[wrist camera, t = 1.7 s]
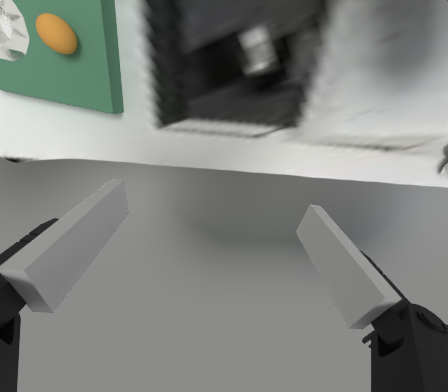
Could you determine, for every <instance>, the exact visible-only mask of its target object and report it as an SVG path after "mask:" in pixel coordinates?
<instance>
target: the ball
mask: <svg viewBox="0 0 448 392" xmlns="http://www.w3.org/2000/svg"><path fill="white" fill-rule="evenodd" d="M36 29H37V32H38V34H39V36H40V38H41V39H42V40H43V42H44V43H45V44H46V45H47V46H49V47H50V48H51V49H53V50H54V51H56V52H58V53H61V54H71V53H73V52H74V51H75V50H76V48H77V38H76V35H75V33H74V31H73V30H72V28H71V27H70V26H69V25H68V24H67V23H66V22H65V21H64V20H63V19H61V18H60V17H58V16H56V15H53V14H50V13H43V14H41V15H39V16H38V17H37V19H36Z"/></svg>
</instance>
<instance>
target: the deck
mask: <svg viewBox="0 0 448 392" xmlns="http://www.w3.org/2000/svg"><path fill="white" fill-rule="evenodd" d="M0 7H1V8H2V9H3V11H4V12H5V13H6V15H7V16H8V18H9V21H10V24H11V28H12V35H11V40H10V39H9V38H8V37H7V35H6V34H5V33H4V31H3V30H2V28H1V25H0V90H3V91H8V92H13V93H17V94H22V95H27V96H31V97H36V98H41V99H45V100H50V101H55V102H59V103H64V104H69V105H73V106H78V107H83V108H87V109H92V110H97V111H102V112H106V113H111V114H116V113H121V112H124V108H123V96H122V84H121V73H120V61H119V49H118V37H117V25H116V13H115V1H114V0H0ZM43 13H50V14H53V15H56V16H58V17H60V18H61V19H63V20H64V21H65V22H66V23H67V24H68V25H69V26H70V27H71V28H72V30H73V31H74V33H75V35H76V38H77V48H76V50H75V51H74V52H73V53H71V54H61V53H58V52H56V51H54V50H53V49H51V48H50V47H49V46H47V45H46V44H45V43H44V42H43V40H42V39H41V38H40V36H39V34H38V32H37V29H36V19H37V17H38V16H39V15H41V14H43Z"/></svg>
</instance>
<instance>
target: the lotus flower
mask: <svg viewBox="0 0 448 392" xmlns="http://www.w3.org/2000/svg"><path fill="white" fill-rule="evenodd" d="M447 172H448V163H447V164H446V165H445V166H444V167H443V169H442V171H441V174H442V173H447Z"/></svg>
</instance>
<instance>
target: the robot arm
mask: <svg viewBox="0 0 448 392" xmlns="http://www.w3.org/2000/svg"><path fill="white" fill-rule="evenodd" d="M127 215H128V208H127V200H126V195H125V188H124V182H123V180H118V179H110V180H109V181H107V182H106V183H105V184H103V185H102V186H101V187H100V188H99V189H97V190H96V191H95V192H93V193H92V194H91V195H89V196H88V197H87V198H86V199H84V200H83V201H82V202H81V203H79V204H78V205H77V206H76V207H74V208H73V209H72V210H70V211H69V212H68V213H67V214H65V215H64V216H63V217H62V218H60V219H56V218H54V219H52V220H50V221H48V222H45V223H43V224H41V225H40V226H38V227H37V228H35V229H34V230H33V231H31V232H30V233H29V235H26V236H25V237H23V238H22V239H20V241H19V242H16V243H15V244H14V245H12V246H11V247H10V248H8V249H7V250H6V251H4V252H3V253H1V254H0V392H17V379H18V378H17V377H18V360H19V342H20V322H21V318H20V314H19V313H18V312H19V311H20V310H21V309H22V308H23V307H24V306H25V305H26V304H27V306H28V307H29V308H30V309H31V310H32V312H48V313H53V312H54V311H55V310H56V308H57V307H58V306H59V305H60V303H61V302H62V301H63V299H64V298H65V297H66V295H67V294H68V293H69V291H70V290H71V289H72V287H73V286H74V285H75V283H76V282H77V281H78V279H79V278H80V277H81V276H82V274H83V273H84V272H85V270H86V269H87V267H88V266H89V265H90V264H91V262H92V261H93V260H94V258H95V257H96V256H97V254H98V253H99V252H100V250H101V249H102V248H103V247H104V245H105V244H106V242H107V241H108V240H109V239H110V237H111V236H112V235H113V233H114V232H115V231H116V229H117V228H118V226H119V225H120V224H121V223H122V221H123V220H124V219H125V217H126V216H127ZM296 233H297V235H298V237H299V239H300V241H301V242H302V244H303V246H304V248H305V250H306V251H307V253H308V255H309V257H310V259H311V261H312V262H313V264H314V266H315V268H316V270H317V272H318V273H319V275H320V277H321V279H322V281H323V283H324V284H325V286H326V288H327V290H328V292H329V294H330V295H331V297H332V299H333V301H334V302H335V305H336V306H337V308H338V310H339V312H340V314H341V316H342V317H343V319H344V321H345V323H346V325H347V326H348V328H351V329H364V328H365V327H366V326H367V325H369V324H370V323H371V324H372V326H373V327H374V329H375V330H374V331H372V332H371V333H370V334H368V335H367V336H365V337H364V338H363V340H362V342H363V343H364V344H365V343H366V342H368V341H369V340H371V344H370V345H369V347H370V348H371V392H448V325H446V324H444V322H443V321H442V320H441V319H440V318H438V317H437V316H436V315H435V314H434V313H432V312H431V311H429V310H428V309H426V308H424V307H422V306H420V305H417V304H411V303H410V302H409V301H408V300H407V299H406V298H405V297H404V295H403V294H402V293H401V292H400V291H399V290H398V289H397V287H396V286H395V285H394V284H393V283H392V282H391V281H390V280H389V279H388V278H387V276H386V275H384V274H383V272H382V271H381V270H380V269H379V268H378V267H377V266H376V264H375V263H374V262H373V261H372V260H371V259H370V258H369V257H368V256H367V255H365V254H364V253H363V252H362V251H360V250H358V249H357V247H356V246H355V245H354V244H353V243H352V242H351V241H350V239H349V238H348V237H347V236H346V235H345V234H344V233H343V232H342V231H341V229H340V228H339V227H338V226H337V225H336V224H335V223H334V221H333V220H332V219H331V218H330V217H329V216H328V215H327V213H326V212H325V211H324V210H323V209H322V208H321V207H320V206H316V205H310V206H309V208H308V210H307V212H306V214H305V216H304V218H303V220H302V222H301V223H300V225H299V227H298V229H297V231H296Z"/></svg>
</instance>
